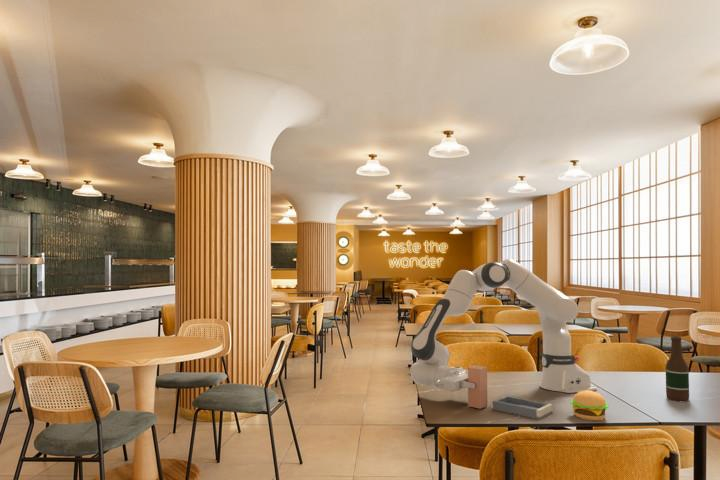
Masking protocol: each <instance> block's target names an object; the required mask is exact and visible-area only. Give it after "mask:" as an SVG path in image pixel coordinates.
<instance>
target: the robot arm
mask: <svg viewBox="0 0 720 480" xmlns="http://www.w3.org/2000/svg"><path fill="white" fill-rule="evenodd" d="M503 285H505V286H507V287H508V288H509V289H510V290H511V291H512V292H513V293H515V294H517V296H519V297H520V298H521V299H523V300H524V301H525V302H527V303H529V304H530V305H532V306H534V307H535V308H536V311H537V313H538V318H539V322H540V327H541V332H542V353H541V354H542V355H541V363H542V371H541V378H540V382H539V387H540V388H542V389H545V390H549V391H554V392H561V393H562V392H563V393H567V394H570V393H571V394H572V393H573V394H574V393H578V392H581V391H585V390H589V391H594V392H596V391H597V390H598V389H597V386H596V385H594V384H592V383H591V378H590V375H589V373H588V372H587V371H585V369H583V368H582V367H580V366H579V365H578V364H577V363H576V362H580V361H581V357H580V356H577V355H573V354H572V336H571V334H570V332H569V329H568V327H567V323H569V322H572V321H574V320H575V319H576V318H577V316H578V314H579V306H578V304H577V303H576V302H575V300H573V298H572V299H571V298H570V297H569V296H567V295H566V294H564V293H562V292H561V291H559V290H558V289H556V288H555V287H553V286H552V285H550V284H549V283H547V282H545V281H544V280H543V279H541V278H540V277H538V276H537V274H535V273H533V272H532V271H531V270H530V269H528V268H527V267H525V266H524V265H522V264H521V263H519V262H518V261H515V260H513V259H512V258H505V259H503V260H501V261H500V262H497V261H492V262H488V263H485V264H484V263H483V264H481V265H480V266H478V267H476V268H474V269H472V270H471V271H470V270H467V269H460V270H458V271H457V272H456V273H455V274H454V275H453V278H452V279H451V280H450V282H449V284H448V287H447V289H446V291H445V294H444V295H443V296H442V298H441V299H439V300H438V301H437V302H436V303H435V304H434V306H433V308H432V309H431V311H430V312H429V314H428V316H427V318H426V320H425V322H424V324H423V325H422V327H421V328H420V330H419V331H418V332H417V333H416V335H415V336H414V338H413V339H412V341H411V345H410V350H411V353H412V355H413V356H414V357H415V358H416V359H418V360H417V361H415V362H414V363H412V364H411V366H410V370H409V374H410V377H411V379H412V381H413V382H414V383H415V384H417V385H421V386H423V387H429V388H434V387H435V388H436V389H439V390H444V391H449V392H457V391H459V390H463V389H468V388H476V383H474V382H468V368H467V369H463V367H462V366H448V364H449V360H450V355H451V353H450V350H449V348H448V347H447V345H445V344H443V343H441V342H440V341H439V340H437V338H436V336H437V333H439V330H440V328H441V326H442V325H443V323H444V321H445V319H446V318H449V317H461V316H462V315H464V314H467V312H468V311H469V308H470V306H471V304H472V301H473V300H474V296H475V294H476V292H478V293H484V292H490V291H492V290H495V289H497V288H500V287H502V286H503Z"/></svg>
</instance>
